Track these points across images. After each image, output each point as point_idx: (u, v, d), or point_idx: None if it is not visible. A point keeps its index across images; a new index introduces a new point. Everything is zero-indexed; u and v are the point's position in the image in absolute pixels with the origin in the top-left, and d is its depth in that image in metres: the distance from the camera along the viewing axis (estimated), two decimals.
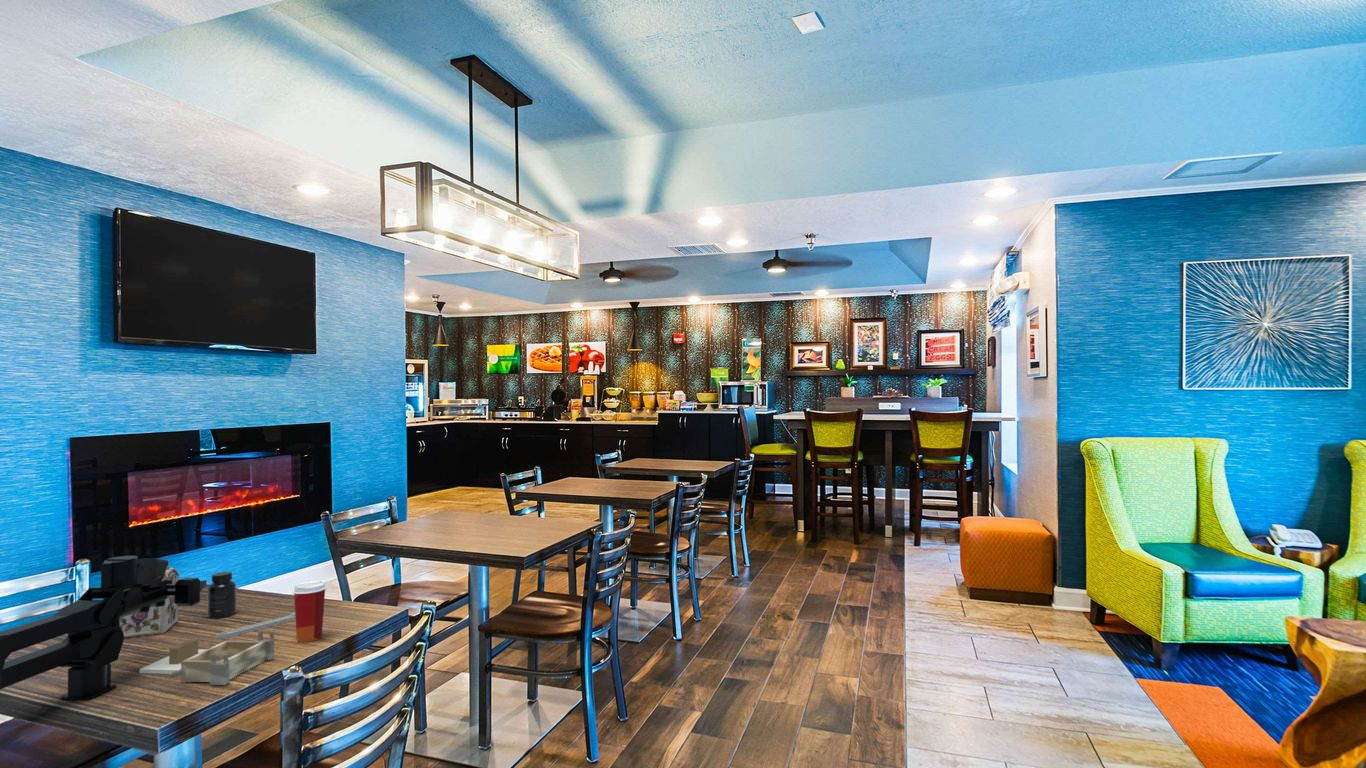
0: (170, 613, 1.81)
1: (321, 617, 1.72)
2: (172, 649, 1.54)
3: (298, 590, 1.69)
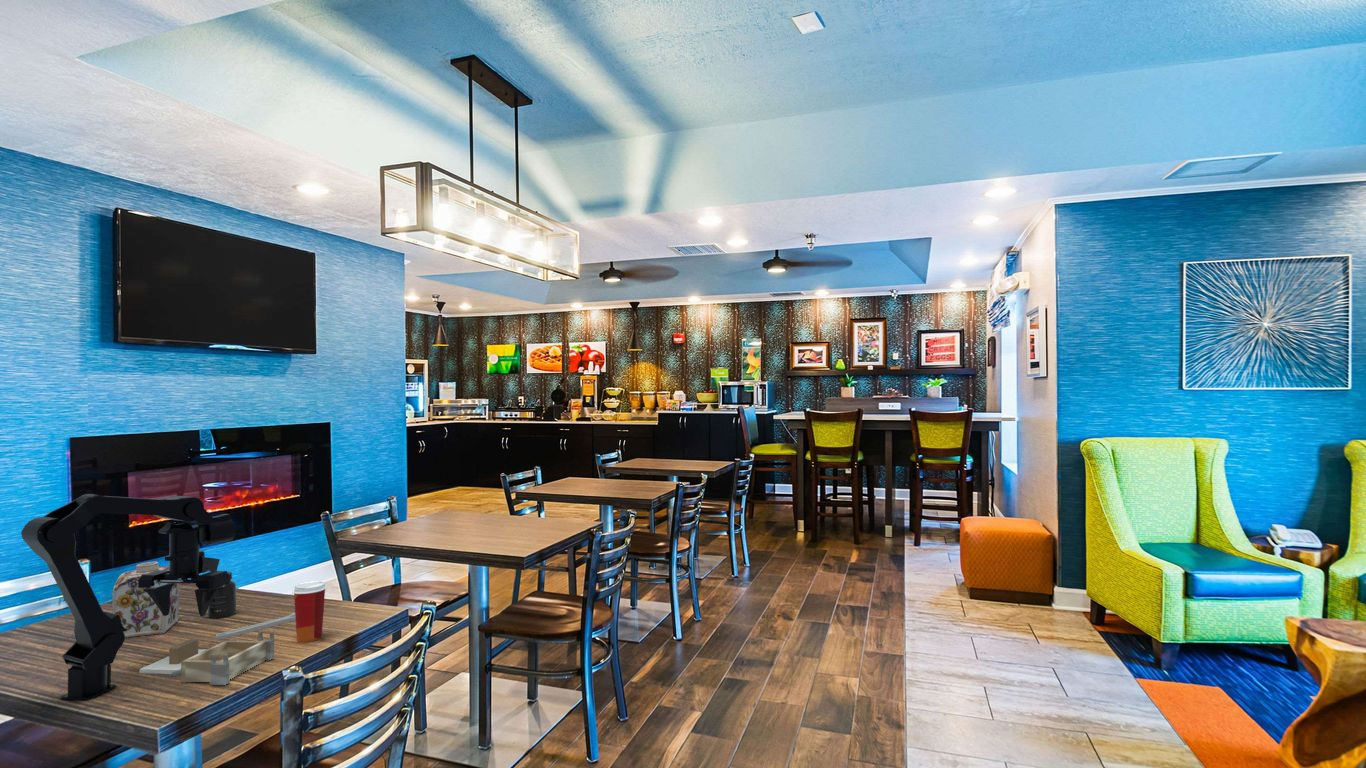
0: (170, 613, 1.81)
1: (321, 617, 1.72)
2: (172, 649, 1.54)
3: (298, 590, 1.69)
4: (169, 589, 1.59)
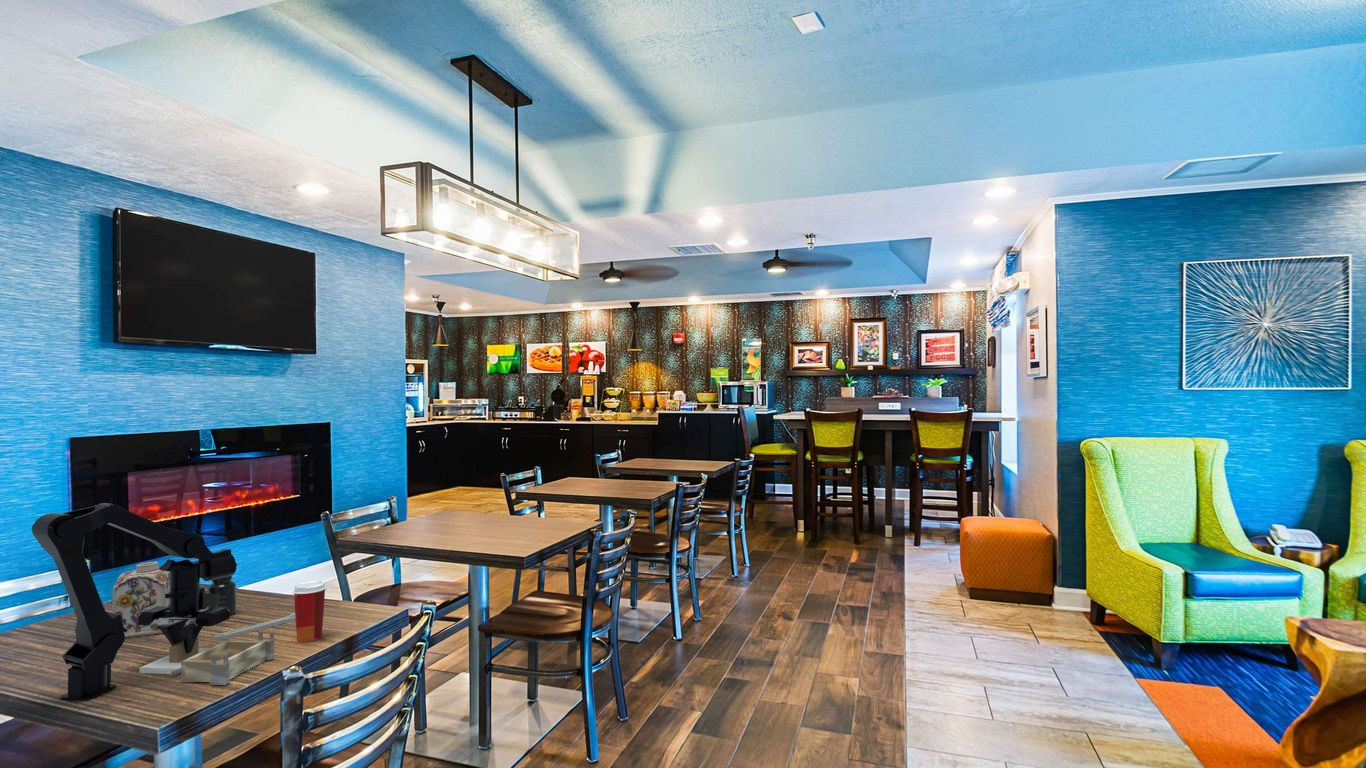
0: None
1: (321, 617, 1.72)
2: (172, 648, 1.54)
3: (298, 590, 1.69)
4: (182, 626, 1.59)
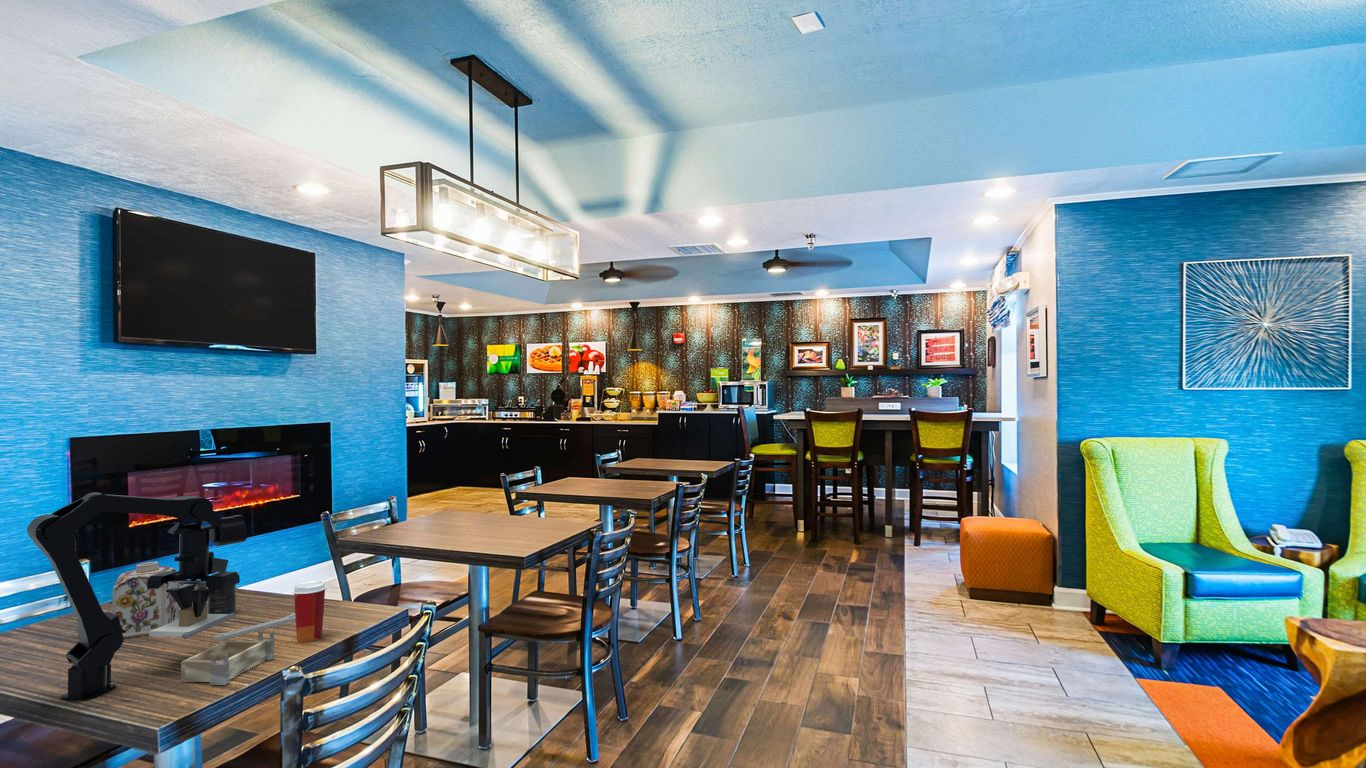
0: (170, 613, 1.81)
1: (321, 617, 1.72)
2: (182, 611, 1.53)
3: (298, 590, 1.69)
4: None
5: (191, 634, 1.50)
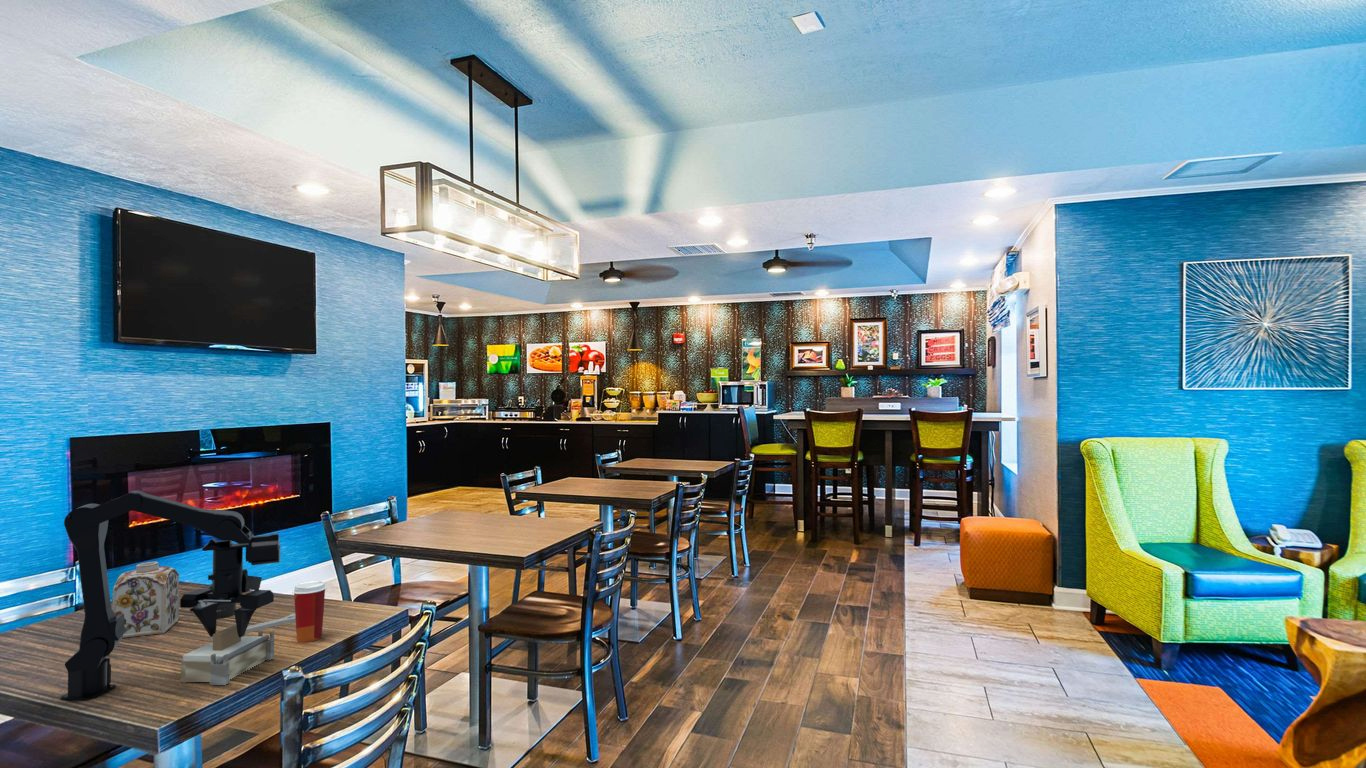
0: (170, 613, 1.81)
1: (321, 617, 1.72)
2: (216, 635, 1.49)
3: (298, 591, 1.69)
4: (215, 609, 1.54)
5: None
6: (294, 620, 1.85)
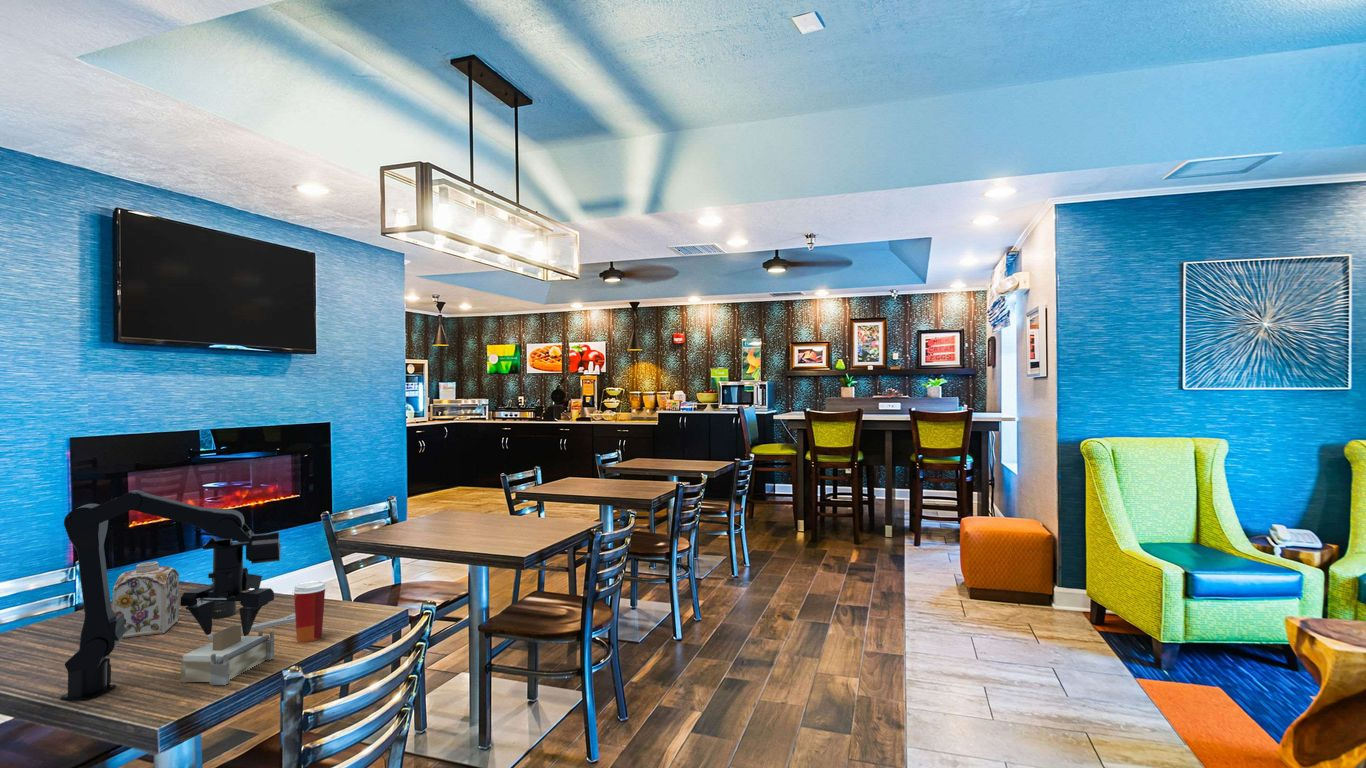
0: (170, 613, 1.81)
1: (321, 617, 1.72)
2: (216, 635, 1.49)
3: (298, 591, 1.69)
4: (211, 607, 1.54)
5: None
6: (293, 620, 1.85)
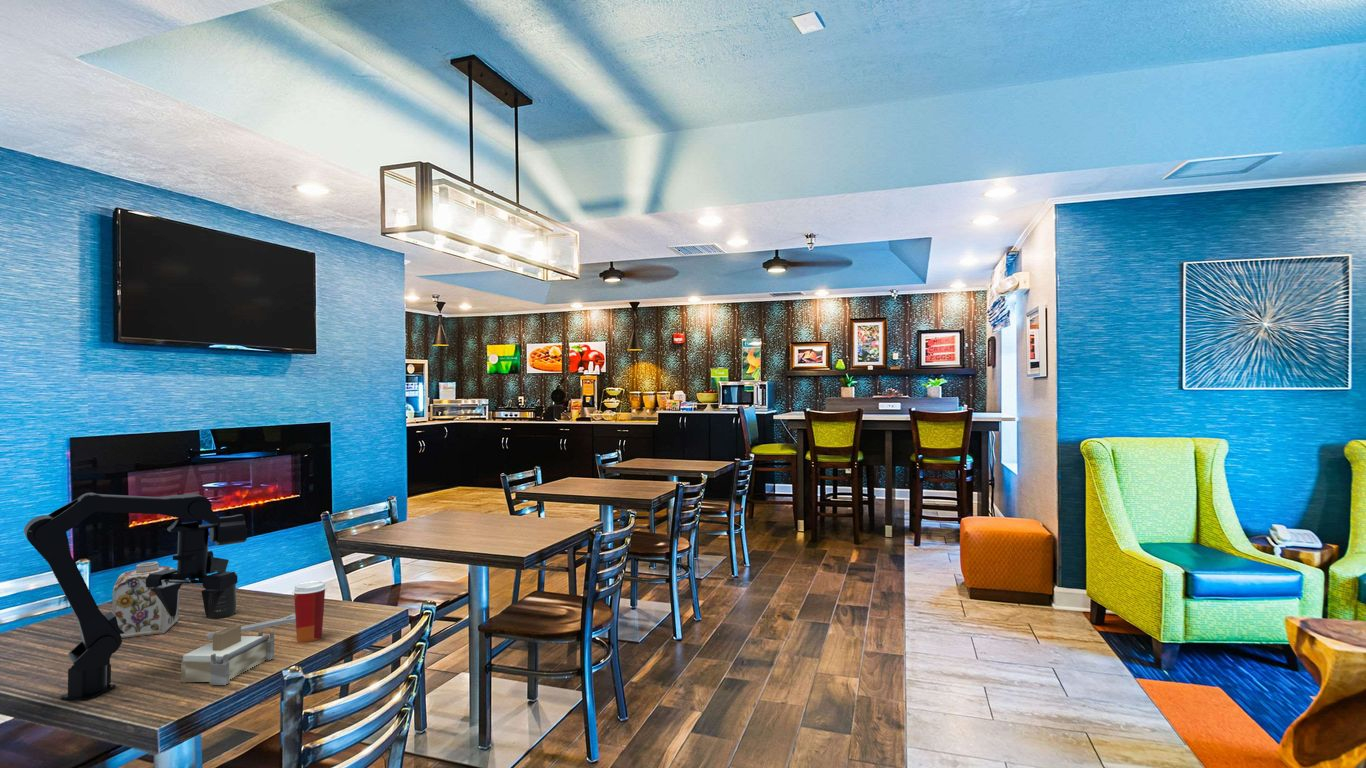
0: None
1: (321, 617, 1.72)
2: (216, 635, 1.49)
3: (298, 590, 1.69)
4: (177, 589, 1.56)
5: None
6: (292, 621, 1.85)
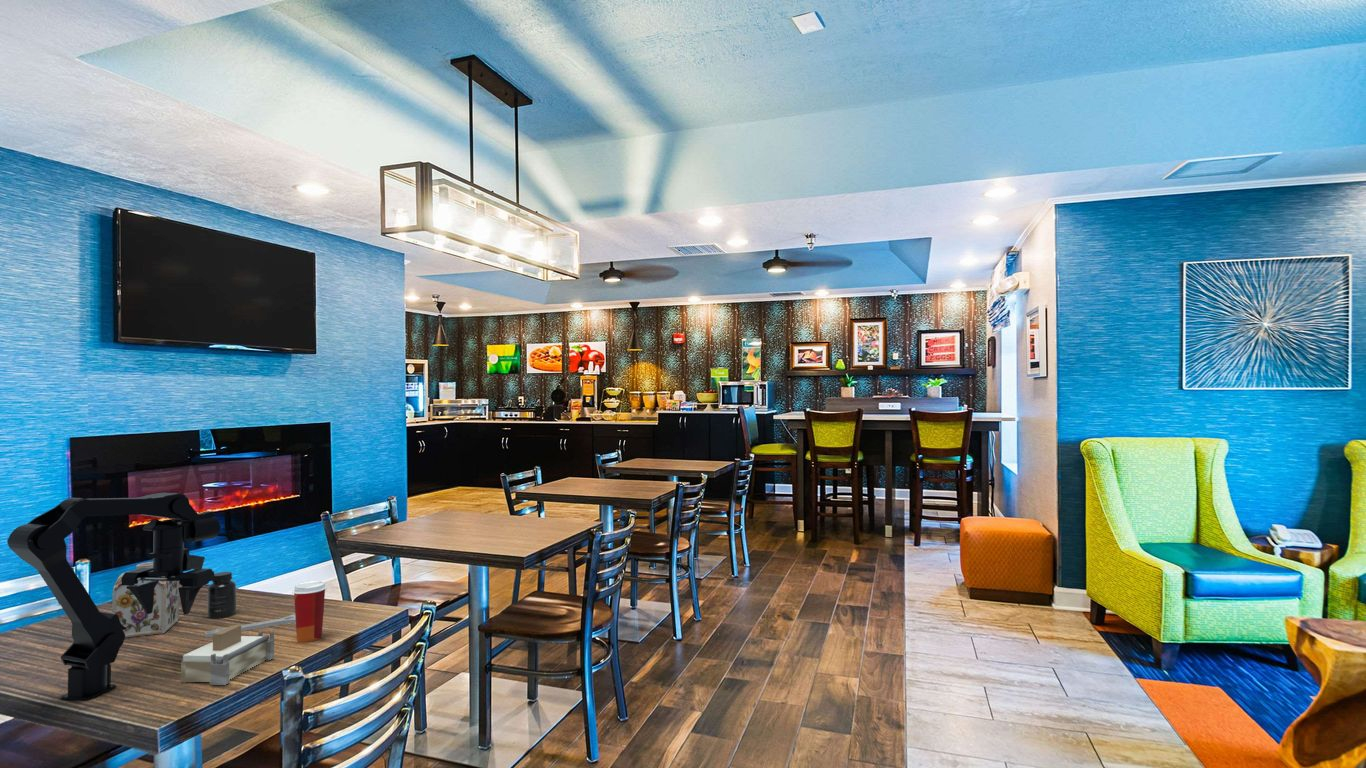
0: (170, 613, 1.81)
1: (321, 617, 1.72)
2: (216, 635, 1.49)
3: (298, 590, 1.69)
4: (153, 587, 1.57)
5: None
6: (290, 621, 1.84)
